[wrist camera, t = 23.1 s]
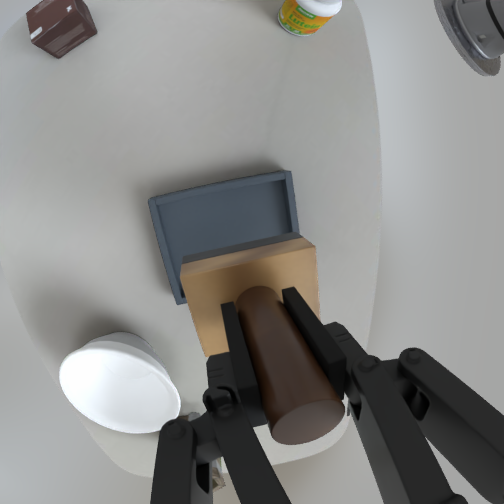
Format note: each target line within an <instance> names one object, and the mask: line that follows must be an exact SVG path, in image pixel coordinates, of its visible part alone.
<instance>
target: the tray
mask: <svg viewBox="0 0 504 504" xmlns="http://www.w3.org/2000/svg"><path fill="white" fill-rule="evenodd" d="M148 204H149V208H150V212H151V217H152V221H153V225H154V228H155V232H156V236H157V240H158V244H159V247H160V251H161V254H162V258H163V261H164V265H165V268H166V272H167V275H168V278H169V282H170V285H171V288H172V291H173V294H174V298H175V301H176V304H177V305H180V304H183V303H187V300H186V296H185V293H184V290H183V286H182V283H181V280H180V272H181V264H182V257H183V256H186V255H191V254H195V253H199V252H204V251H208V250H213V249H217V248H222V247H226V246H231V245H235V244H240V243H245V242H249V241H254V240H258V239H263V238H268V237H272V236H277V235H281V234H286V233H291V232H297V233H299V226H298V218H297V210H296V202H295V195H294V187H293V180H292V173H291V171H286V170H284V171H278V172H272V173H266V174H260V175H254V176H248V177H243V178H238V179H232V180H227V181H222V182H217V183H212V184H208V185H203V186H198V187H194V188H189V189H185V190H181V191H176V192H172V193H168V194H164V195H160V196H156V197H152V198H150V199H149V200H148Z"/></svg>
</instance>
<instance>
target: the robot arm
mask: <svg viewBox="0 0 504 504" xmlns="http://www.w3.org/2000/svg"><path fill="white" fill-rule="evenodd" d="M453 10H454V14H455V17H456V19H457V22H458V24H459V26H460V28H461V30H462V32H463V34H464V35H465V37H466V38H467V40H468V42H469V43H470V44H471V46H472V47H473V48H474V49H475V51H476V52H477V53H478V54H479V55H480V56H482V57H483V58H485V59H494V58H497V57H498V56H500V55H501V54H503V53H504V0H455V1H454V2H453ZM282 297H283V304H284V306H285V308H286V309H287V311H288V313H289V314H290V316H291V318H292V319H293V321H294V323H295V324H296V326H297V328H298V329H299V331H300V333H301V334H302V336H303V337H304V339H305V341H306V342H307V344H308V346H309V347H310V349H311V351H312V352H313V354H314V356H315V357H316V359H317V361H318V362H319V364H320V366H321V367H322V369H323V371H324V372H325V374H326V376H327V377H328V379H329V381H330V382H331V384H332V386H333V387H334V389H335V391H336V392H337V394H338V396H339V397H340V399H341V400H344V392H345V394H346V395H347V397H348V398H349V399H348V407H347V416H349V415H350V412H351V415H352V417H353V420H354V422H355V425H356V427H357V430H358V433H359V435H360V438H361V441H362V443H363V446H364V449H365V451H366V454H367V457H368V460H369V463H370V465H371V468H372V471H373V474H374V476H375V479H376V482H377V485H378V487H379V491H380V493H381V496H382V499H383V502H384V504H468V502H467V501H466V499H465V498H464V497H463V496H462V495H459V494H455V493H454V492H453V491H452V490H451V488H450V486H449V484H448V482H447V479H446V477H445V476H444V473H443V471H442V469H441V467H440V465H439V463H438V461H437V459H436V457H435V455H434V454H433V451H432V450H431V448H430V446H429V444H428V442H427V440H426V438H427V439H428V440H429V441H430V442H431V443H432V444H433V445H434V446H435V448H436V449H437V450H438V451H439V452H440V453H441V454H442V455H443V456H444V457H445V458H446V459H447V460H448V461H449V462H450V463H451V464H452V465H453V466H454V467H455V468H456V470H457V471H458V472H459V473H460V474H461V475H462V476H463V477H464V478H465V479H466V480H467V481H468V482H469V483H470V484H471V485H472V486H473V487H474V488H475V489H476V490H477V491H478V492H479V493H480V495H482V496H483V497H484V498H485V499H486V500H488V501H489V502H491V503H492V504H504V415H502V414H501V413H500V412H499V411H498V410H496V409H495V408H494V407H493V406H492V405H490V404H489V403H488V402H487V401H486V400H484V399H483V398H482V397H481V396H480V395H478V394H477V393H476V392H475V391H473V390H472V389H471V388H470V387H469V386H467V385H466V384H465V383H463V382H462V381H461V380H460V379H459V378H457V377H456V376H455V375H454V374H452V373H451V372H450V371H449V370H447V369H446V368H445V367H444V366H442V365H441V364H440V363H439V362H437V361H436V360H435V359H433V358H432V357H431V356H430V355H428V354H427V353H426V352H425V351H423V350H421V349H418V348H408V349H405V350H403V352H401V354H400V356H399V358H398V359H392V360H385V361H381V360H380V359H379V358H378V357H375V356H372V355H368V354H367V353H366V352H365V351H364V350H363V348H362V347H361V346H360V345H359V344H358V342H357V341H356V340H355V339H354V338H353V336H352V335H351V334H350V333H349V332H348V330H347V329H346V328H345V327H344V326H343V325H341V324H339V323H337V322H333V323H330V324H327V325H323V324H322V323H321V322H320V320H319V319H318V318H317V316H316V315H315V313H314V312H313V311H312V309H311V308H310V307H309V305H308V304H307V303H306V301H305V300H304V299H303V297H302V296H301V295H300V293H299V292H298V291H297V289H296V288H295V287H294V286H293V287H289V288H285V289H282ZM220 306H221V311H222V317H223V322H224V327H225V332H226V338H227V343H228V348H229V352H224V353H220V354H215V355H210V356H209V358H208V361H207V363H206V366H207V377H208V387H209V388H208V389H207V390H206V391H205V392H204V394H203V403H204V405H205V407H206V409H207V411H206V412H205V413H204V414H203V415H202V416H200V417H198V418H196V419H194V420H191V421H187V420H185V419H182V418H176V419H171V420H169V421H167V422H166V423H165V424H164V425H163V426H162V428H161V430H160V434H159V441H158V447H157V454H156V461H155V468H154V476H153V484H152V492H151V502H150V504H213V482H212V461H214V460H216V459H218V458H220V457H222V456H223V458H224V461H225V464H226V467H227V469H228V472H229V474H230V477H231V480H232V482H233V485H234V487H235V490H236V493H237V495H238V497H239V500H240V502H241V504H291V502H290V500H289V498H288V496H287V495H286V493H285V491H284V489H283V487H282V485H281V483H280V482H279V480H278V478H277V476H276V474H275V472H274V470H273V468H272V466H271V464H270V462H269V460H268V458H267V456H266V454H265V452H264V450H263V448H262V446H261V444H260V442H259V440H258V438H257V436H256V434H255V432H254V429H253V427H257V426H261V425H265V424H267V421H266V417H265V414H264V411H263V407H262V401H261V396H260V392H259V388H258V384H257V381H256V378H255V374H254V371H253V368H252V364H251V361H250V357H249V354H248V351H247V347H246V344H245V340H244V337H243V333H242V330H241V326H240V323H239V319H238V315H237V312H236V308H235V305H234V301H232V302H227V303H223V304H220ZM425 437H426V438H425Z"/></svg>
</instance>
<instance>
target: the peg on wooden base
mask: <svg viewBox="0 0 504 504" xmlns="http://www.w3.org/2000/svg"><path fill="white" fill-rule="evenodd" d="M180 280H181V283H182V286H183V290H184V293H185V296H186V300H187V303H188V306H189V309H190V313H191V316H192V319H193V322H194V325H195V328H196V331H197V334H198V337H199V340H200V343H201V346H202V349H203V352H204V354H205V357H209V356H210V355H215V354H220V353H224V352H229V348H228V343H227V338H226V332H225V327H224V322H223V317H222V311H221V306H220V304H223V303H227V302H232V301H234V305H235V308H236V312H237V315H238V319H239V323H240V326H241V330H242V333H243V337H244V340H245V344H246V347H247V351H248V354H249V357H250V361H251V364H252V368H253V371H254V374H255V378H256V381H257V384H258V388H259V392H260V396H261V401H262V407H263V411H264V414H265V417H266V420H267V424H268V427H269V430H270V433H271V436H272V438H273V439H274V440H275V441H276V442H278V443H281V444H285V445H297V444H303V443H307V442H310V441H313V440H316V439H318V438H320V437H322V436H324V435H325V434H327V433H329V432H330V431H331V430H333V429H334V428H335V427H336V426H337V425H338V424H339V423H340V421H341V420H342V418H343V416H344V414H345V406H344V404H343V402H342V401H341V399H340V397H339V396H338V394H337V392H336V391H335V389H334V387H333V386H332V384H331V382H330V381H329V379H328V377H327V376H326V374H325V372H324V371H323V369H322V367H321V366H320V364H319V362H318V361H317V359H316V357H315V356H314V354H313V352H312V351H311V349H310V347H309V346H308V344H307V342H306V341H305V339H304V337H303V336H302V334H301V333H300V331H299V329H298V328H297V326H296V324H295V323H294V321H293V319H292V318H291V316H290V314H289V313H288V311H287V309H286V308H285V306H284V304H283V297H282V289H285V288H289V287H293V286H294V287H295V288H296V289H297V291H298V292H299V293H300V295H301V296H302V297H303V299H304V300H305V301H306V303H307V304H308V305H309V307H310V308H311V309H312V311H313V312H314V313H315V315H316V316H317V318H318V319H319V320H320V304H319V287H318V273H317V260H316V249H315V246H314V245H313V244H312V243H311V242H309V241H308V240H307V239H305V238H304V237H303V236H301V235H300V234H299V233H297V232H291V233H286V234H281V235H277V236H272V237H268V238H263V239H258V240H254V241H249V242H245V243H240V244H235V245H231V246H226V247H222V248H217V249H213V250H208V251H204V252H199V253H195V254H191V255H186V256H183V257H182V264H181V272H180Z"/></svg>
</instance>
